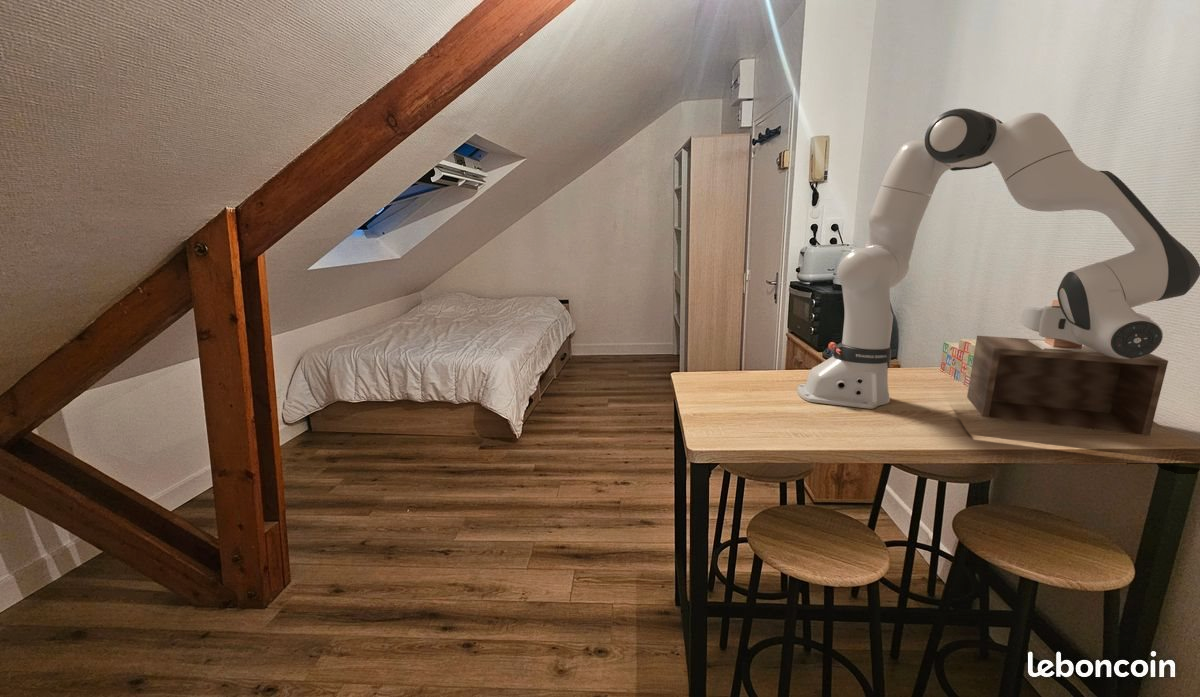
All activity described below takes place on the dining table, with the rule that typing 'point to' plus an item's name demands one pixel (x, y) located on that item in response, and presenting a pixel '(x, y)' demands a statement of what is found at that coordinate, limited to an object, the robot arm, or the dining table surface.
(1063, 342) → the terracotta block
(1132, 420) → the cubby
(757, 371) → the dining table surface
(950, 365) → the stack of blocks
